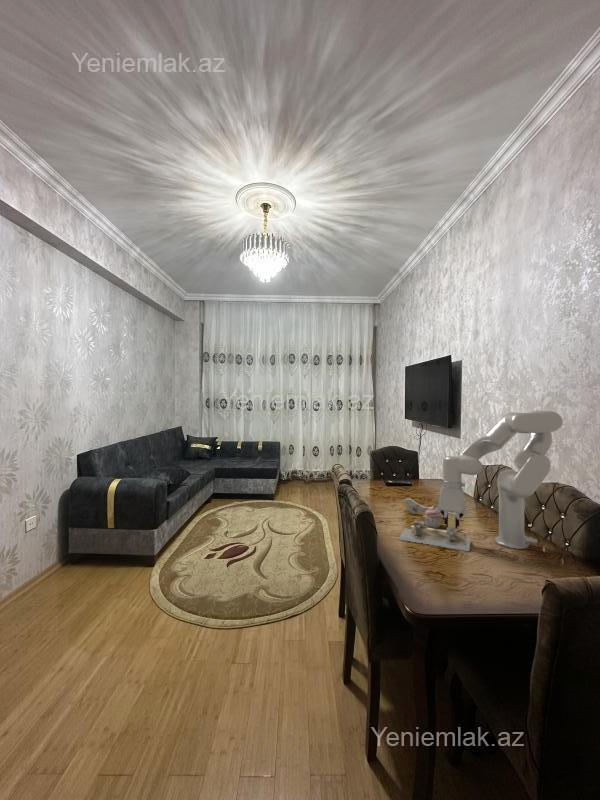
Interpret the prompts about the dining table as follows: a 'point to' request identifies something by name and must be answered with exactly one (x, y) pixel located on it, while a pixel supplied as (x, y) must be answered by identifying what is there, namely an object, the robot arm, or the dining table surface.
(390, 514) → the dining table surface
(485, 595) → the dining table surface
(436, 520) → the cupcake
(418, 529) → the sliding bolt bar
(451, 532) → the block
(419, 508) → the wrench
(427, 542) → the bolt plate
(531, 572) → the dining table surface
